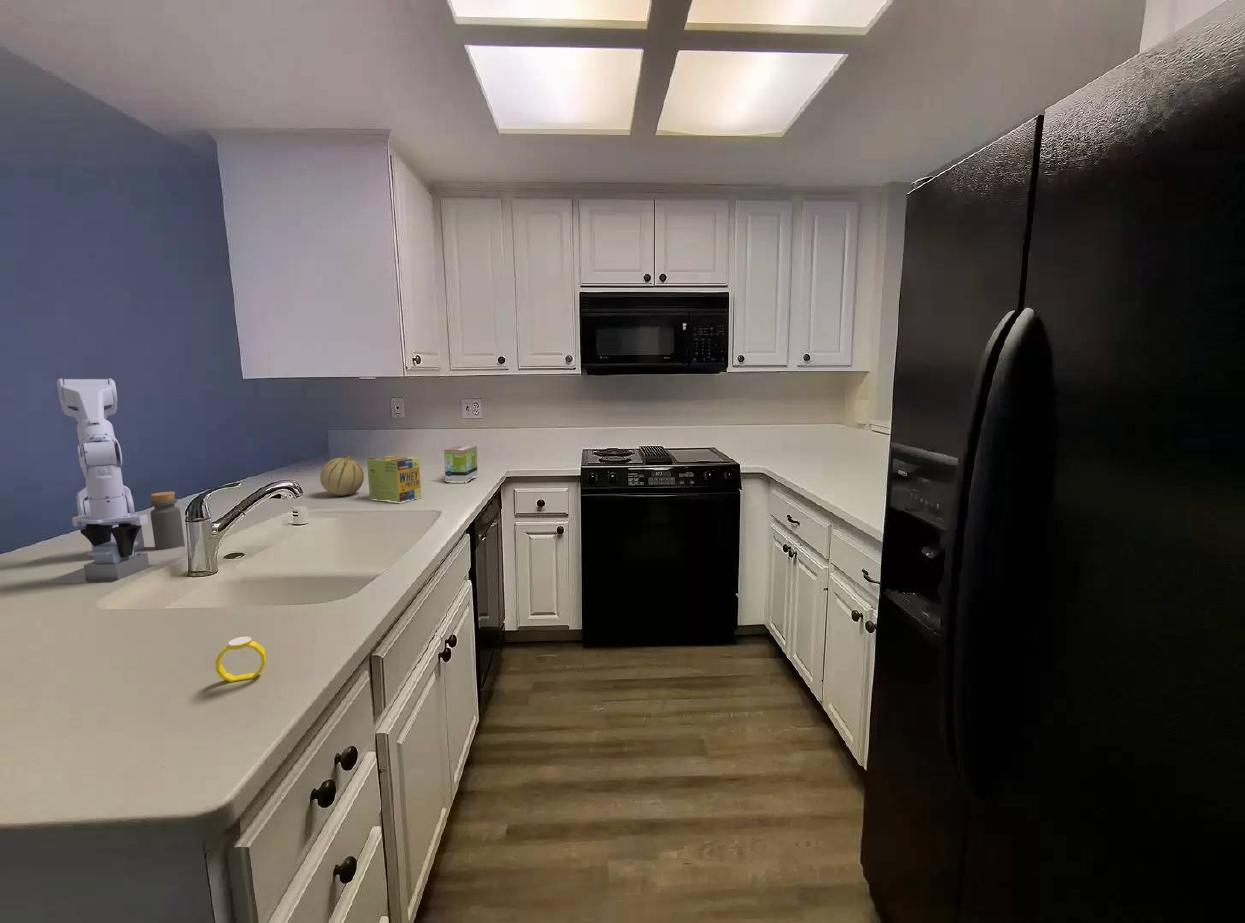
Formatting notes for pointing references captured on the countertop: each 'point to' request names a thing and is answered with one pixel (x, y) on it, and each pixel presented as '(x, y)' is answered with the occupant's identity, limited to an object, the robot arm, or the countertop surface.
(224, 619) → the countertop surface
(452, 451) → the tea box
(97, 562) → the block
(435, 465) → the countertop surface
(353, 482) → the cantaloupe
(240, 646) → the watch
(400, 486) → the protein box
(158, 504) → the bottle
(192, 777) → the countertop surface
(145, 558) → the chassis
